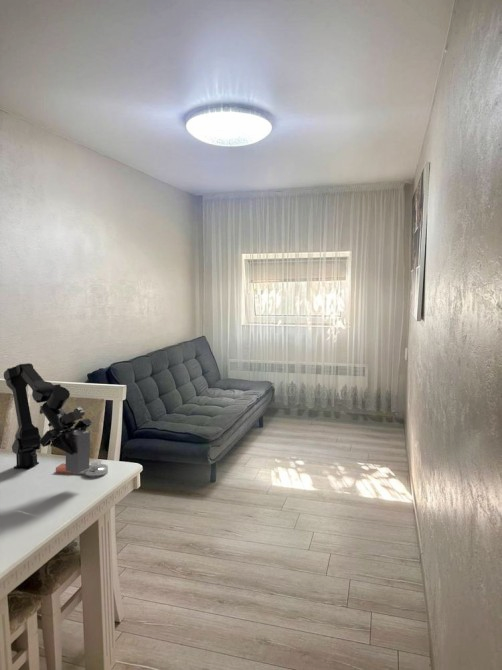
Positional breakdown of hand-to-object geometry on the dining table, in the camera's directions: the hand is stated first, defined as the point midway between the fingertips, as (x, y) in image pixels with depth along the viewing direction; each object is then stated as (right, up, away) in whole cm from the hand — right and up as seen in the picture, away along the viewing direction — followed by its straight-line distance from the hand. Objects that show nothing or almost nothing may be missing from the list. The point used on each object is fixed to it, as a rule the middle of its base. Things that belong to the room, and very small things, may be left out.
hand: (80, 451), depth 150 cm
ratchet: (-5, -12, +15) cm, 20 cm away
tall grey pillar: (-1, -7, +1) cm, 7 cm away
